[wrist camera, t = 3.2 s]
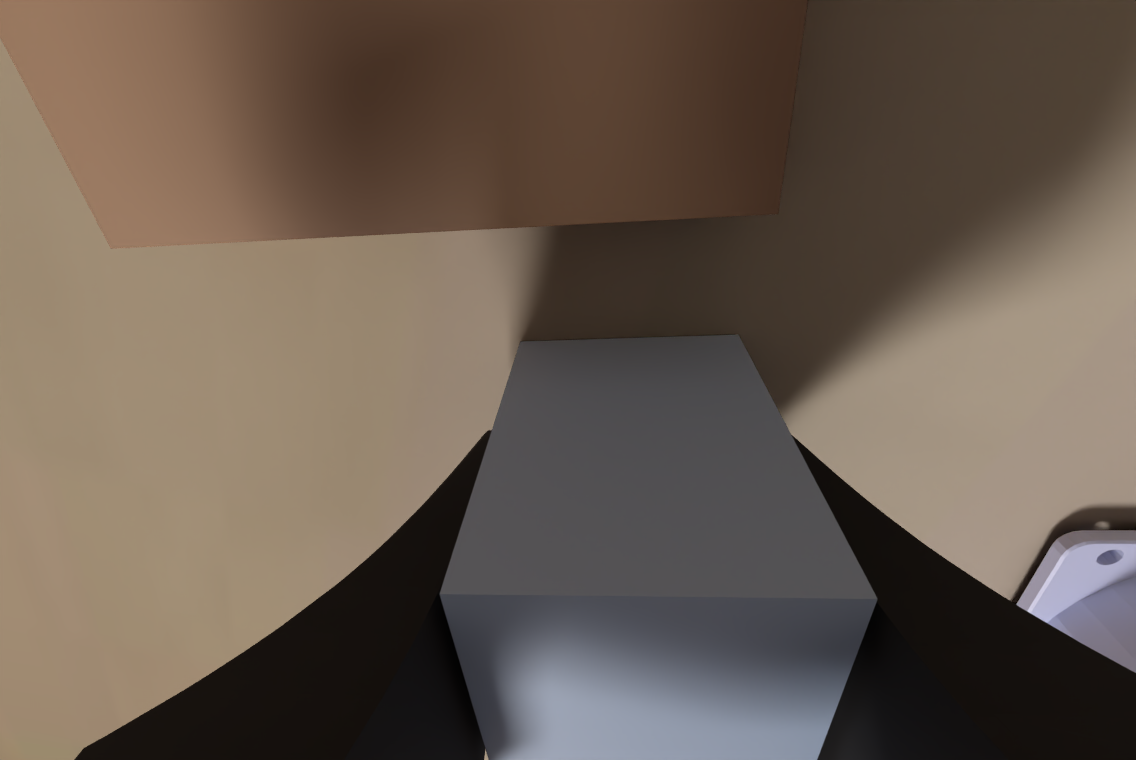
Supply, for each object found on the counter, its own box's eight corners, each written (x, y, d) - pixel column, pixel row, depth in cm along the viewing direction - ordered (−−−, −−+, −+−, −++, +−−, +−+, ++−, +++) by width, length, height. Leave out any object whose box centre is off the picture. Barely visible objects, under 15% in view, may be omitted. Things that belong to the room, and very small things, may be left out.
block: (738, 334, 10) (877, 599, 5) (719, 498, 12) (802, 798, 7) (520, 341, 10) (438, 593, 5) (540, 499, 13) (496, 785, 8)
